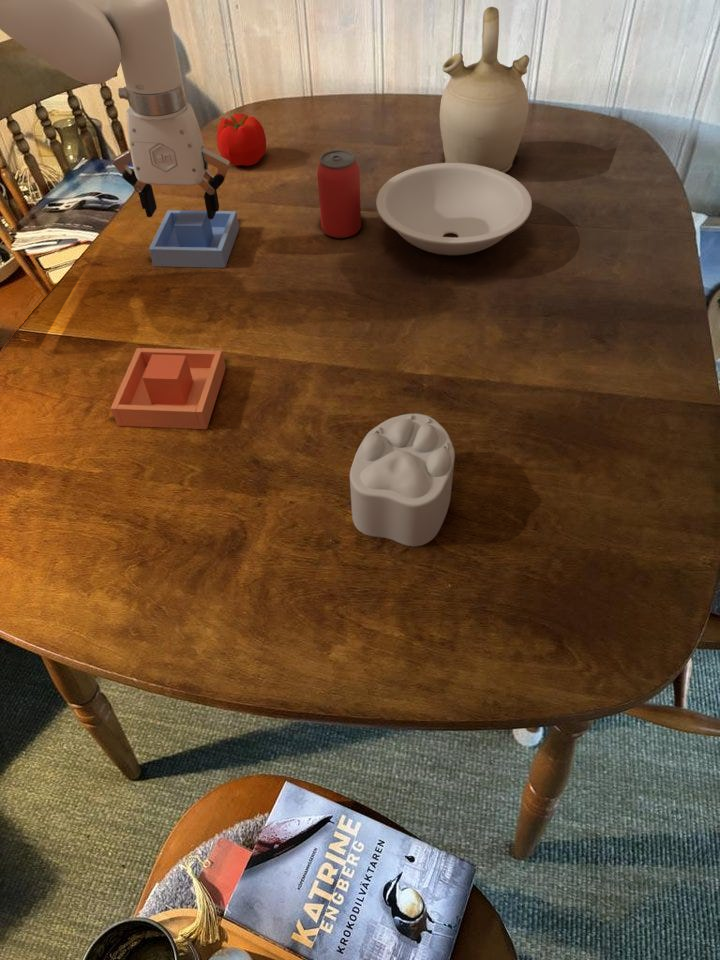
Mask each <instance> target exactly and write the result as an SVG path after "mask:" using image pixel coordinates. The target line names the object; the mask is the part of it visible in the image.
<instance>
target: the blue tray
mask: <svg viewBox="0 0 720 960" xmlns="http://www.w3.org/2000/svg"><path fill="white" fill-rule="evenodd" d="M181 210H182V209H181ZM181 210H180V209H179V210H178V209H167V211H166V213H165V214H164V217H163V219H162V221H161V223H160V225H159V227H158V229H157V231H156V233H155V235H154V237H153V240H152V242H151V243H150V245H149V247H148V252H149V255H150V259H151V262H152V266H153V267H163V268H165V267H166V268H168V267H170V268H206V269H207V268H212V269H213V268H215V269H221V268H222V269H226V267H227V263H228V262H229V259H230V256H231V252H232V249H233V248H234V244H235V242H236V238H237V235H238V233H239V230H240V225H239V219H238V214H237V211H236V210H232V211H231V210H218V212H217V211H216V213H215V216H214V218H213V219H210V222H211V227H212V231H213V238H212V241H211V244H210V246H209V248H205V247H179V244H178V240H177V236H176V232H175V228H174V224H175V222H176V220H177V218H178V215H179V213H180V211H181ZM189 211H191V210H190V209H189Z"/></svg>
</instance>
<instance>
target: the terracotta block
mask: <svg viewBox="0 0 720 960" xmlns="http://www.w3.org/2000/svg"><path fill="white" fill-rule="evenodd" d="M143 381H144V384H145V387H146V390H147V392H148V395H149V398H150V401H151V404H168V405H185V404H186V402H187V399H188V396H189V393H190V390H191V387H192V384H193V379H192V375H191V371H190V368H189V364H188V361H187V357H186V356H185V355H154V354H152V356H151V358H150V361H149V363H148V366H147V368H146V370H145V373H144V375H143Z"/></svg>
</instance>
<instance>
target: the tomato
mask: <svg viewBox="0 0 720 960" xmlns="http://www.w3.org/2000/svg"><path fill="white" fill-rule="evenodd" d="M229 116H230V118H221V120H220V122H218V123H219V124H218V126H217V130H216V146H217V149H218V152H219V154H220V156H221V157H223V158H225V159H227V160H229V162H230V165H232V166H237V167H238V166H245V167H249V166H253V165H255V164H257V163H259V162H260V160H261V158H262V157H263V156H264V155H265V153H266V150H267V137H266V133H265V129H264V127H263V125H262V123H261V122H260V121H259V120H258V119H257V118H256V117H254V116H249V115H248V114H246V113H235V114H233V115H231V114H229Z"/></svg>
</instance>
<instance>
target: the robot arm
mask: <svg viewBox="0 0 720 960" xmlns="http://www.w3.org/2000/svg"><path fill="white" fill-rule="evenodd" d="M0 31H2V32H3V33H4V34H6V35H7V36H8V37H9V38H11V40H14V42H16V43H18V44H19V45H20V46H21V47H23V48H25V49H26V50H28V51H29V52H30V53H31V54H33V55H35V56H36V57H38V58H39V59H41V60H43V61H44V62H46V63H47V64H49V65H51V67H54V68H55V69H57V70H58V71H60V72H61V73H63V74H64V75H66V76H67V77H69V78H71V79H73V80H75V81H76V82H80V83H83V84H87V85H100V84H104V83H106V82H108V81H111V79H112V78H113V77H114V76H115V75H116V74H117V73H118V70H119V68H120V67H121V70H122V74H123V79H124V83H125V86H124V87H118V89H117V95H118V98H119V99H121V100H125V101H127V102H128V106H129V107H128V108H127V110H126V113H125V114H126V128H127V129H126V131H127V138H128V144H129V149H127V150H126V151H124V152H122V153H120V154H119V155H116V156H115V158H114V159H113V160H112V165H113V166H114V167H115V169H116V170H117V171H118V172H119V174H121V175H122V178H123V180H124V181H125V182H127V183H128V184H129V185H131V186H132V187H133V190H134V192H135V193H138V197H139V201H140V204H141V208H142V210H144V211H145V215H146V218H152V217H153V215H154V214H155V212H156V210H157V202H156V198H155V194H154V190H153V186H152V185H154V186H155V185H159V186H197V185H198V186H200V188H202V190H203V191H204V192H205V193H204V195H203V198H204V204H205V211H207V216H208V218H209V219H213V218H214V216H215V213H216V211H217V212H218V211H220V201H219V196H218V191H217V190H218V189H219V188H220V187H221V186H222V185H223V183H224V182H225V179H226V176H227V174H228V172H229V168H230V166H231V164H230V162H229V160H227V159H225V158H223V157H222V156H221V155H219V154H217V153H215V152H213V151H212V150H210V149H207V148H206V147H205V143H204V139H203V135H202V131H201V128H200V126H199V122H198V119H197V117H196V114H195V111H194V108H193V106H192V104H191V103H189V102H187V98H186V91H185V88H184V83H183V76H182V73H181V67H180V61H179V55H178V49H177V44H176V39H175V33H174V28H173V22H172V17H171V13H170V8H169V3H168V1H167V0H0ZM131 162H132V166H133V167H132V168H133V169H132V168H130V166H129V163H131ZM209 165H211V166H213V167H215V168H216V169H217V173H216V174H215V175H213V174H212V173H211V172H210V171H209V170H208V168H209Z"/></svg>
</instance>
